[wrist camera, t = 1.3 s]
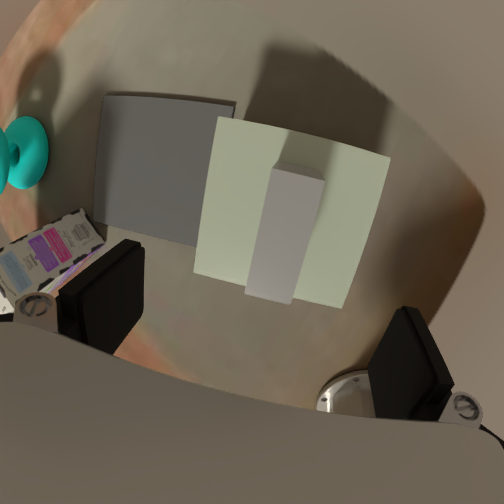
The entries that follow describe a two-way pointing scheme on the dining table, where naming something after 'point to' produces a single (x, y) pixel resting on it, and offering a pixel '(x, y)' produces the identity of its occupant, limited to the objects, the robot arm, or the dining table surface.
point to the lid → (286, 212)
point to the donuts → (23, 153)
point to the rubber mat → (154, 164)
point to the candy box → (46, 257)
